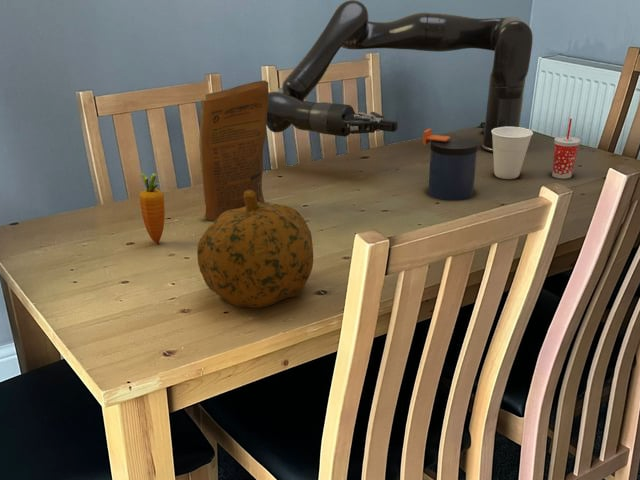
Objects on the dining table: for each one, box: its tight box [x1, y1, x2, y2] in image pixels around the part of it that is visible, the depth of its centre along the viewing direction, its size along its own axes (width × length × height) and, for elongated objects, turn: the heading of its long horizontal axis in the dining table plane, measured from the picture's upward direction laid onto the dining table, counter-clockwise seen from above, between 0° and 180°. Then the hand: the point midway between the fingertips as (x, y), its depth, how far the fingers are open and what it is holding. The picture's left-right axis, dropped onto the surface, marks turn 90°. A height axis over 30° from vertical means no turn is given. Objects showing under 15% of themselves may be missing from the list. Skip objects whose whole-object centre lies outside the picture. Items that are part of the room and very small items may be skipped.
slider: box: [422, 128, 451, 146], centre depth 185 cm, size 6×3×3 cm, turn 59°
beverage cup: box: [551, 118, 581, 180], centre depth 195 cm, size 6×6×14 cm
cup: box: [491, 126, 534, 180], centre depth 196 cm, size 10×10×11 cm
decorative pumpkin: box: [196, 190, 314, 309], centre depth 139 cm, size 20×21×20 cm
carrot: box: [139, 173, 166, 245], centre depth 162 cm, size 5×5×15 cm
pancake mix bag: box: [198, 79, 270, 221], centre depth 173 cm, size 7×19×28 cm, turn 127°
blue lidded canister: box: [427, 135, 480, 201], centre depth 186 cm, size 11×11×12 cm
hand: (396, 126), depth 189 cm, fingers closed
